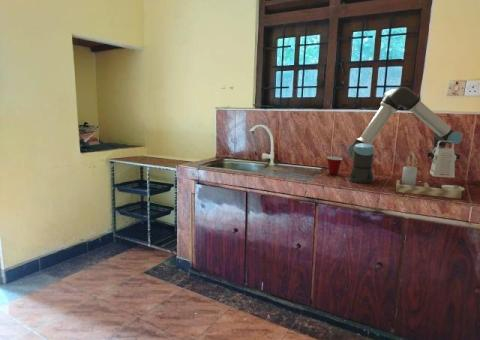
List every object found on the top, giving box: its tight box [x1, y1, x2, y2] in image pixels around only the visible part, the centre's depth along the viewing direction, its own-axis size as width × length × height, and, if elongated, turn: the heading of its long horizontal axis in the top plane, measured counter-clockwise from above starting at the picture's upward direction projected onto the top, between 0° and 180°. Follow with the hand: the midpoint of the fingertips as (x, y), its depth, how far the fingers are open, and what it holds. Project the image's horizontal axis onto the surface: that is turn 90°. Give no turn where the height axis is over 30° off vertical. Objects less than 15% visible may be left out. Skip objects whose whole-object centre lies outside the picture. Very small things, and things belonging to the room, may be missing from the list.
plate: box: [441, 184, 465, 192], centre depth 176 cm, size 11×11×1 cm
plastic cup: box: [326, 155, 343, 175], centre depth 216 cm, size 11×11×12 cm
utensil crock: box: [400, 153, 418, 186], centre depth 171 cm, size 7×7×20 cm
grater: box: [429, 141, 456, 179], centre depth 176 cm, size 10×10×20 cm
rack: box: [395, 179, 463, 200], centre depth 168 cm, size 30×14×4 cm, turn 63°
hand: (445, 157), depth 172 cm, fingers closed on grater, 9 cm apart
